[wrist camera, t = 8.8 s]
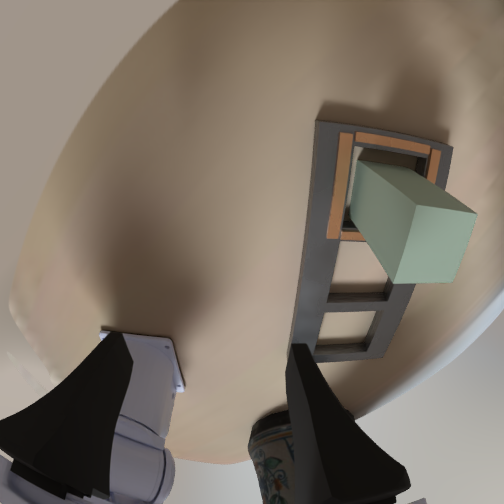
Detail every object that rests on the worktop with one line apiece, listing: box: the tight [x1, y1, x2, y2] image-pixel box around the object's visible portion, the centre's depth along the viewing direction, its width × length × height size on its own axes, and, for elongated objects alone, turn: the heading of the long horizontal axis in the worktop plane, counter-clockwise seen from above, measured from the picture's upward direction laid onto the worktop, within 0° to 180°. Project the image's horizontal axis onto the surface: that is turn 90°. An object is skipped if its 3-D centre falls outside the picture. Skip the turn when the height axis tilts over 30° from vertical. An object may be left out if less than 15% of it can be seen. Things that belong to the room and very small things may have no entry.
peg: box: [348, 160, 478, 284], centre depth 15 cm, size 4×4×8 cm
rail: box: [287, 120, 453, 363], centre depth 21 cm, size 21×10×1 cm, turn 179°
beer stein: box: [248, 410, 355, 504], centre depth 25 cm, size 16×19×25 cm
